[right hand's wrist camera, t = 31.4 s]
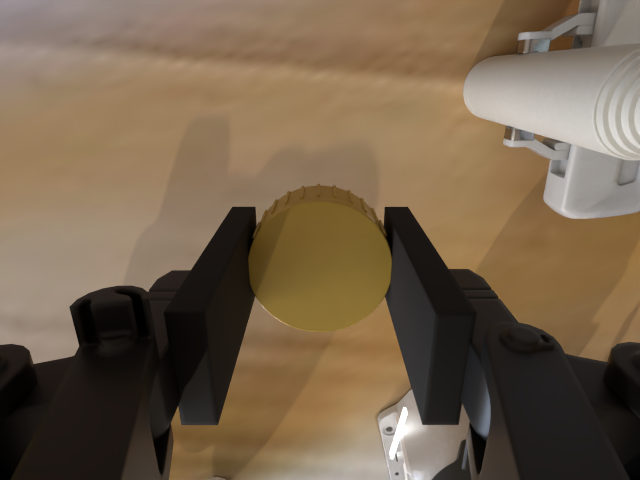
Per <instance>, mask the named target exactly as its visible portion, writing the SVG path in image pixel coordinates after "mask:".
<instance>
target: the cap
mask: <svg viewBox="0 0 640 480" xmlns="http://www.w3.org/2000/svg"><path fill="white" fill-rule="evenodd" d="M386 236H387V234H386V231H385V229H384V226H383V224H382V222H381V220H378V218H377V216H376V213H375V211H374V209H373V208H370V207H369V206H368V205H367V204H366V203H365V202H364V199H363V198H361V199H360V198H359V197H357V196H355V195H354V194H352V193H351V191H350V190H348V191H345V190H343V189H339V188H336V186H334V185H333V187H330V186H320V184H317V186H310V187H305V186H302V188H301V189H298V190H295V191H292V192H290V191H288V192H287V195H285V196H283V197H282V198H280V199H279V200H277V199H276V200H275V201H274V204H273V205H272V206H271V207H270V208H269V210H268V211H267V210H265V212H264V214H263V217H262V219H261V222H258V224H257V227H256V229H255V232H254V234H253V237H252V238H253V239H254V240H253V242H252V245H251V248H250V251H249V255H248V262H249V277H250V285H251V288H252V290H253V292H254V294H255V296H256V298H257V299H258V301H259V302H260V304H261V305H262V306H263V307H264V308H265V309H266V311H267V312H269V313H270V314H271V315H272V316H273V317H275V318H276V319H278V320H279V321H281V322H282V323H284V324H287V325H289V326H291V327H294V328H297V329H300V330H305V331H311V332H329V331H335V330H340V329H343V328H346V327H349V326H352V325H354V324H356V323H358V322H359V321H361V320H363V319H364V318H366V317H367V316H368V315H369V314H371V313H372V312H373V311H374V310H375V309H376V308H377V307H378V305H379V304H380V303H381V301H382V300H383V298H384V297H385V295H386V293H387V291H388V288H389V286H390V280H391V267H392V254H391V250H390V246H389V244H388V241H387V239H386Z"/></svg>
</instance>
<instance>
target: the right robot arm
mask: <svg viewBox="0 0 640 480" xmlns="http://www.w3.org/2000/svg"><path fill="white" fill-rule="evenodd" d="M256 227H257V226H256V209H255V207H232V208H231V210H230V211H229V213H228V215H227V216H226V218H225V219H224V221H223V222H222V224H221V225H220V227H219V228H218V230H217V231H216V233H215V234H214V236H213V237H212V239H211V241H210V242H209V244H208V245H207V247H206V248H205V250H204V251H203V253H202V254H201V256H200V257H199V259H198V260H197V262H196V264H195V265H194V267H193V268H192V270H191V271H171V272H169V273H167V274H166V275H164V276H162V277H161V278H159V279H157V281H156V282H155V283H154V284H153V286H152V287H151V288H150V289H149V292H147V291H145V290H144V289H143V288H139V287H135V286H115V287H109V288H103V289H100V290H97V291H94V292H91V293H88V294H87V295H85V296H83V297H81V298H79V299H77V300H76V301H75V302H74V303H73V304H72V305H71V306H70V311H71V315H72V319H73V323H74V327H75V330H76V334H77V338H78V342H79V348H78V350H77V352H76V354H75V356H72V357H68V358H63V359H58V360H53V361H48V362H42V363H37V364H33V361H32V358H31V355H30V351H29V350H28V349H26V348H25V347H24V346H21V345H14V344H7V345H0V480H169V473H170V465H171V457H172V450H173V442H174V441H173V434H172V428H171V421H172V419H173V416H174V414H175V412H176V409H177V407H178V406H179V412H180V418H181V424H182V425H218V423H219V419H220V416H221V412H222V409H223V405H224V402H225V399H226V395H227V392H228V388H229V385H230V381H231V378H232V374H233V371H234V368H235V364H236V361H237V357H238V354H239V350H240V347H241V343H242V340H243V337H244V333H245V330H246V326H247V323H248V319H249V316H250V312H251V309H252V306H253V302H254V299H255V294H254V292H253V290H252V288H251V285H250V277H249V262H248V255H249V251H250V248H251V245H252V242H253V240H254V239H253V238H252V237H253V234H254V232H255V229H256ZM384 229H385V231H386V234H387V236H386V239H387V241H388V244H389V246H390V250H391V254H392V267H391V280H390V286H389V288H388V291H387V293H386V295H385V298H386V301H387V305H388V308H389V311H390V315H391V318H392V322H393V325H394V329H395V332H396V336H397V339H398V342H399V346H400V349H401V353H402V356H403V360H404V363H405V367H406V370H407V373H408V377H409V380H410V384H411V387H412V391H413V394H414V398H415V401H416V404H417V408H418V411H419V415H420V418H421V422H422V425H459V420H460V414H461V407H462V404H463V406H464V409H465V411H466V413H467V416H468V418H469V420H470V422H469V428H468V433H467V439H466V445H465V451H464V456H463V463H462V469H464V470H467V469H468V464H470V472H471V480H640V343H634V342H627V343H621V344H617V345H616V346H615V347H613V348H612V349H611V353H610V356H609V359H608V362H603V361H598V360H592V359H587V358H582V357H577V356H572V355H568V354H565V353H564V351H563V349H562V347H561V345H560V344H559V343H558V342H557V341H556V340H555V338H554V337H552V336H551V335H549V334H548V333H546V332H545V331H543V330H541V329H538V328H536V327H533V326H531V325H527V324H523V323H519V322H518V321H517V320H516V319H515V317H514V316H513V315H512V314H511V312H510V311H509V310H508V309H507V307H506V306H505V305H504V304H503V302H502V301H501V300H500V299H498V296H497V295H496V294H495V292H494V291H493V290H491V287H490V286H489V285H488V283H487V282H486V281H485V280H484V278H482V277H481V276H479V275H477V274H476V273H474V272H472V271H471V270H469V269H448V268H447V266H446V265H445V263H444V262H443V260H442V258H441V257H440V255H439V254H438V252H437V251H436V249H435V248H434V246H433V245H432V243H431V242H430V240H429V239H428V237H427V236H426V234H425V232H424V231H423V229H422V228H421V226H420V225H419V223H418V222H417V220H416V219H415V217H414V216H413V214H412V213H411V211H410V210H409V208H408V207H385V214H384Z"/></svg>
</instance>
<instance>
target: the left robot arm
mask: <svg viewBox="0 0 640 480" xmlns="http://www.w3.org/2000/svg"><path fill="white" fill-rule="evenodd" d="M560 35H562V37H573V40H572V45H571V49H580V48H591V47H602V46H613V45H625V44H636V43H640V0H580V2H579V7H578V13H577V14H574V15H570V16H565V17H563V18H561V19H560V20H558V21H556V22H555V23H553V24H552V25H550V26H548V27H547V28H545V29H543V30H542V31H533V32H523V33H519V35H518V42H517V49H516V54H527V53H535V52H546V51H548V50H549V45H550V41H552V40H553V39H555V38H557V37H558V36H560ZM534 135H535V133H531V132H528V131H524V130H521V129H517V128H514V127H511V126H506V129H505V135H504V141H503V144H504V145H506V146H510V147H527V148H529V149H530V150H532V151H534V152H535V153H537V154H539V155H540V156H543V157H545V158H548V159H550V164H549V170H548V175H547V180H546V186H545V191H544V197H543V199H544V202H545V203H546V204H547V205H548V206H549V207H550V208H552V209H553V210H554V211H555V212H557V213H559V214H561V215H563V216H565V217H568V218H572V219H589V218H603V217H612V216H619V215H626V214H632V213H636V212H639V211H640V160H625V159H621V158H618V157H614V156H611V155H607V154H604V153H600V152H597V151H593V150H590V149H586V148H583V147H580V146H576V145H573V144H569V143H566V142H562V141H559V140H555V139H544V140H543V143H541V142H539V141H538V140H536V139H534ZM377 420H378V425H379V429H380V434H381V438H382V443H383V448H384V452H385V457H386V461H387V466H388V471H389V475H390V480H471V472H470V464H468V469H467V470H464V469H462V463H463V456H464V451H465V445H466V439H467V433H468V428H469V422H470V420H469V418H468V416H467V413H466V411H465V409H464V406H463V404H462V407H461V414H460V420H459V425H422V422H421V418H420V415H419V411H418V408H417V404H416V401H415V398H414V394H413V391H412V389H411V390H410V391H409V392H408V393H407V394H406V395H405V396H404V397H403V398H402V399H401V400H400V401H399V402H398V403H397V404H395V405H393V406H391V407H389V408H387V409H385V410H384V411H382V412H381V413H380V414H379V415H378V418H377Z"/></svg>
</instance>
